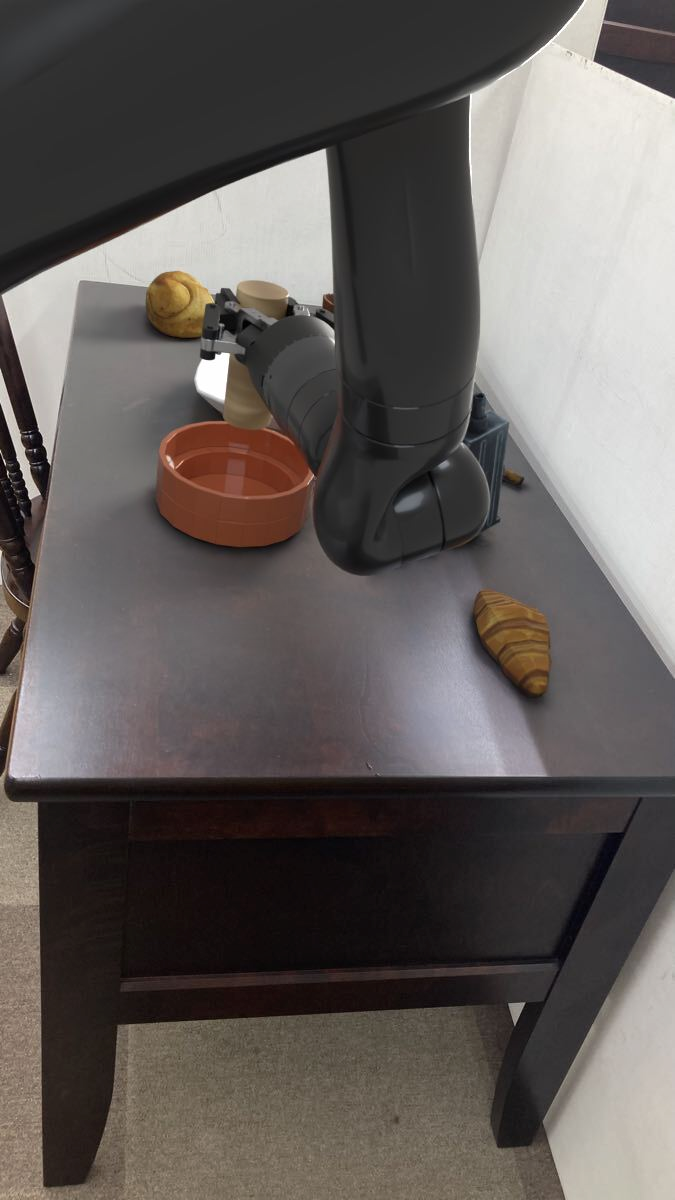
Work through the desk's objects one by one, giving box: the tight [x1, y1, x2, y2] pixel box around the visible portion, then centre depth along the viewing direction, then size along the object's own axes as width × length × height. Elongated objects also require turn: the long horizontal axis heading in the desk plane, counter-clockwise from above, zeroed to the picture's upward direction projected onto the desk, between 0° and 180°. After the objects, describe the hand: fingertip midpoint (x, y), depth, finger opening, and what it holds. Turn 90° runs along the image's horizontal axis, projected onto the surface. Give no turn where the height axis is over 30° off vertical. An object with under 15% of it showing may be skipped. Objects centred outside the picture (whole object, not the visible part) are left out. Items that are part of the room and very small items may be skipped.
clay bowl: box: [155, 420, 315, 548], centre depth 89 cm, size 15×15×6 cm
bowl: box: [193, 353, 287, 437], centre depth 108 cm, size 22×22×5 cm
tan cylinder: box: [222, 279, 290, 430], centre depth 78 cm, size 4×4×12 cm
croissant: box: [473, 588, 552, 699], centre depth 79 cm, size 14×7×5 cm, turn 13°
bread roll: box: [145, 270, 215, 339], centre depth 125 cm, size 13×10×8 cm
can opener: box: [502, 468, 525, 486], centre depth 108 cm, size 9×2×1 cm, turn 50°
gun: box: [462, 391, 510, 537], centre depth 88 cm, size 3×17×15 cm
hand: (251, 300), depth 78 cm, fingers closed on tan cylinder, 4 cm apart
